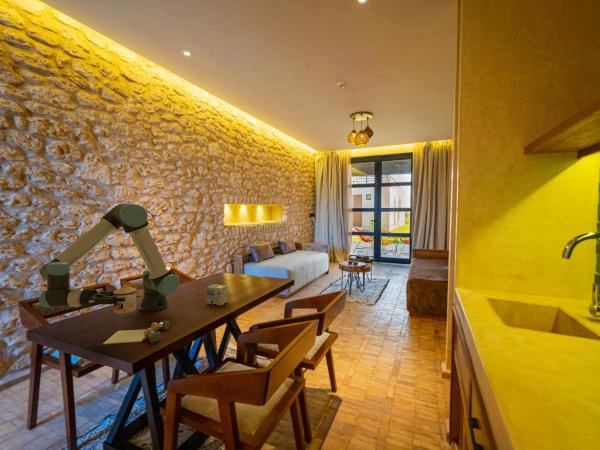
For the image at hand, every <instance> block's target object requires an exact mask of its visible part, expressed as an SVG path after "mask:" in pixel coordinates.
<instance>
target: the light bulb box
mask: <svg viewBox="0 0 600 450" xmlns="http://www.w3.org/2000/svg"><path fill="white" fill-rule="evenodd" d="M206 288H207V289H206V291H207V293H206V294H207V296H206V297H207V298H206V299H207V301H206V303H208V304H209V305H214V304H216V305H215V306H223V305H225V304H227V303H228V285H224V284H223V285H222V284H211V285H209V286H207V287H206ZM226 302H227V303H226ZM224 303H225V304H224Z"/></svg>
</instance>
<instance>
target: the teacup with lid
mask: <svg viewBox="0 0 600 450" xmlns="http://www.w3.org/2000/svg"><path fill="white" fill-rule="evenodd" d="M114 290H115V291H114V292H113V294H114V297H117V296H133V295H134V302H123V303H117V305H114V304H113V312H114V313H115V314H127V313H132V312H134V311H136V310H137V296H136V292H137V290H138V289H137V288H135V287H131V286H128V284H123V285H122V287H119V288H118V289H114Z"/></svg>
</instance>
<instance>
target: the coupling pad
mask: <svg viewBox="0 0 600 450" xmlns="http://www.w3.org/2000/svg"><path fill="white" fill-rule="evenodd" d="M146 329H147V328H146ZM146 329H145V328H144V329H130V330H129V329H128V330H118V331H116V332H115V333H114V334H113V335H112V336H110V337H109V338H108V339H107V340H105V342H103V343H102V344H103V345H113V344H128V343H141V342H143V340H144V339H146V338H145V337H144V331H145V330H146Z"/></svg>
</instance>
